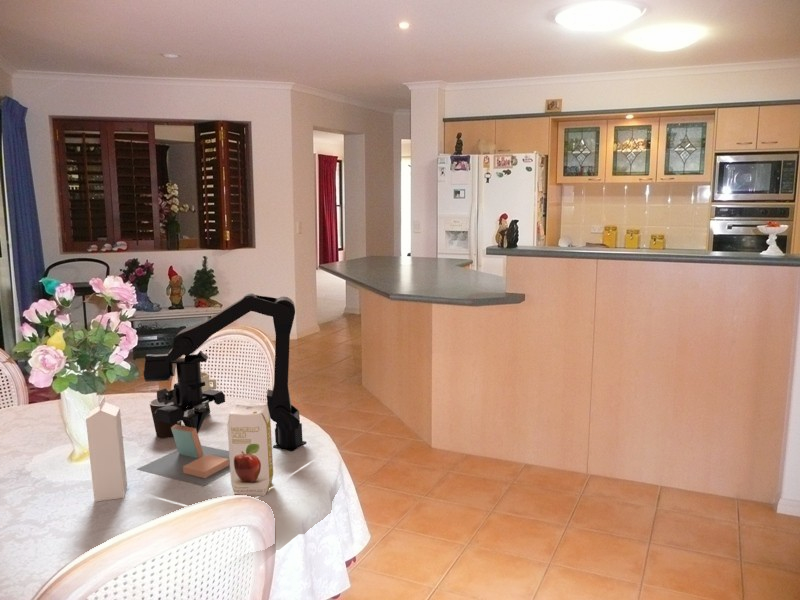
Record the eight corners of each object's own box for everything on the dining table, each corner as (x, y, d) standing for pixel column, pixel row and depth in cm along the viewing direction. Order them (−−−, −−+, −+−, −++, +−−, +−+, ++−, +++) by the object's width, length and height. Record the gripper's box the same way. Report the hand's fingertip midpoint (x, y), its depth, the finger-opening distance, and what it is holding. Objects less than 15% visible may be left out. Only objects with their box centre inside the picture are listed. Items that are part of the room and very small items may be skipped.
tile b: (203, 454, 158) (195, 428, 155) (198, 459, 156) (190, 432, 153) (183, 450, 161) (175, 424, 158) (178, 454, 159) (170, 428, 156)
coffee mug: (163, 443, 168) (160, 408, 166) (146, 436, 173) (143, 402, 171) (200, 430, 177) (198, 396, 175) (182, 424, 182) (180, 391, 181)
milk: (94, 502, 135) (83, 405, 132) (99, 490, 141) (88, 397, 137) (124, 497, 137) (114, 402, 133) (128, 486, 143) (118, 393, 139)
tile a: (228, 459, 151) (204, 471, 144) (229, 465, 152) (205, 478, 145) (207, 454, 154) (182, 466, 147) (207, 460, 155) (183, 473, 148)
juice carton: (239, 482, 143) (234, 403, 140) (276, 482, 143) (271, 403, 140) (229, 498, 136) (223, 415, 133) (268, 497, 135) (263, 414, 132)
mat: (256, 458, 157) (256, 456, 157) (203, 487, 141) (203, 486, 141) (191, 444, 167) (191, 443, 166) (136, 470, 151) (136, 469, 151)
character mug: (218, 410, 194) (215, 370, 192) (218, 417, 187) (215, 376, 185) (181, 414, 191) (178, 373, 189) (180, 421, 184) (176, 379, 182)
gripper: (193, 366, 168) (197, 421, 171) (136, 384, 152) (141, 445, 155) (224, 371, 163) (228, 427, 166) (169, 390, 147) (173, 452, 149)
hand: (193, 437), depth 159 cm, fingers closed
